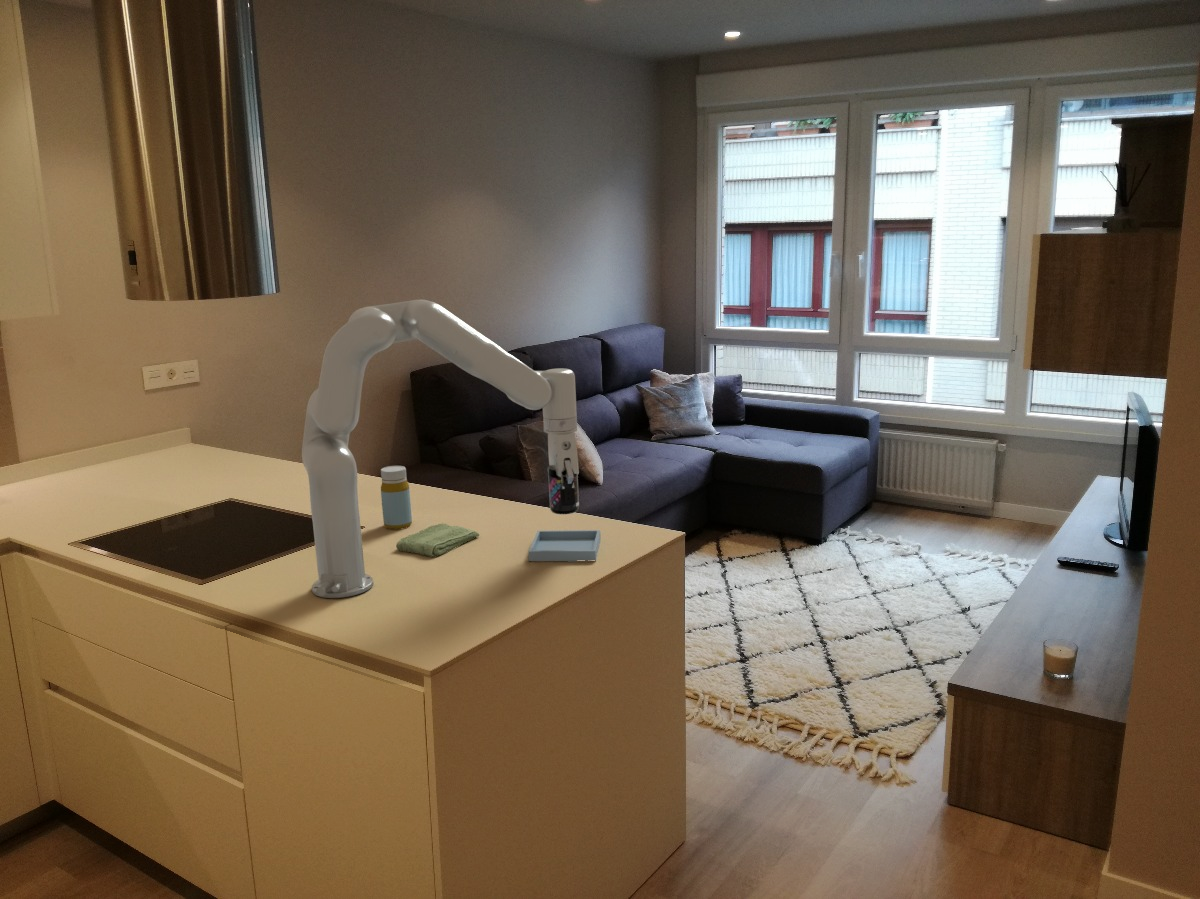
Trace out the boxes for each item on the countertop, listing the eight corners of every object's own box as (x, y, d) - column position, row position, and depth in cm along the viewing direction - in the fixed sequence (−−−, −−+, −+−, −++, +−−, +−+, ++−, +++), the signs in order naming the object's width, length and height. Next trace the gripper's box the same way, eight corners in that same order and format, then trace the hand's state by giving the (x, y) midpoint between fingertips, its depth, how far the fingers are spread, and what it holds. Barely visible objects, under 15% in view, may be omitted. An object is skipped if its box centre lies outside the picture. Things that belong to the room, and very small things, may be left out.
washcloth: (482, 538, 241) (481, 525, 240) (435, 560, 226) (434, 547, 225) (440, 531, 247) (439, 519, 247) (392, 552, 233) (390, 539, 232)
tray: (595, 561, 220) (595, 551, 220) (529, 561, 222) (528, 551, 221) (600, 539, 235) (600, 530, 234) (538, 540, 236) (537, 530, 236)
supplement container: (552, 506, 230) (550, 463, 227) (581, 506, 229) (579, 462, 227) (547, 515, 223) (545, 470, 221) (577, 515, 223) (575, 470, 220)
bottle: (405, 530, 247) (401, 472, 244) (379, 529, 249) (374, 472, 245) (416, 522, 254) (411, 465, 250) (390, 521, 255) (385, 465, 252)
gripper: (586, 430, 214) (589, 509, 218) (567, 415, 231) (570, 489, 235) (552, 433, 212) (556, 513, 217) (535, 418, 229) (539, 493, 233)
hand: (563, 500), depth 226 cm, fingers closed on supplement container, 6 cm apart
